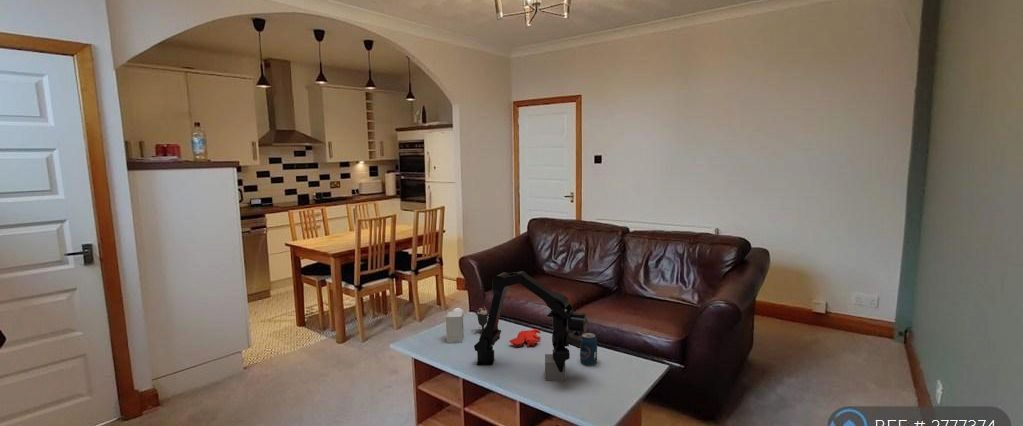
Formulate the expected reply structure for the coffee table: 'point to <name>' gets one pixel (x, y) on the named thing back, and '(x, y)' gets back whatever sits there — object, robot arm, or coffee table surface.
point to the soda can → (588, 349)
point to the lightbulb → (458, 310)
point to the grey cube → (553, 370)
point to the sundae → (482, 317)
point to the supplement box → (454, 327)
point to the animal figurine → (526, 338)
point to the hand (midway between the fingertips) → (560, 366)
